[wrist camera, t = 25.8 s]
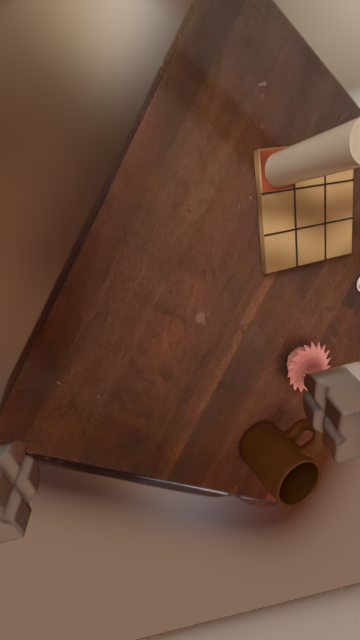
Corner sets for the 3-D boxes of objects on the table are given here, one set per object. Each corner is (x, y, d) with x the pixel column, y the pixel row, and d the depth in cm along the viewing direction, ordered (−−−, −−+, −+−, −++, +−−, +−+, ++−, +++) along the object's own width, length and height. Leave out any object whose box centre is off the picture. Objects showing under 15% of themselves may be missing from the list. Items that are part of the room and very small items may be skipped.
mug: (268, 390, 46) (313, 424, 38) (299, 405, 50) (347, 439, 41) (230, 455, 47) (266, 503, 38) (263, 466, 50) (303, 512, 42)
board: (253, 151, 36) (258, 148, 35) (347, 141, 40) (355, 138, 39) (262, 273, 41) (267, 274, 40) (346, 252, 45) (352, 253, 44)
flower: (289, 391, 48) (315, 408, 43) (262, 362, 45) (287, 377, 40) (321, 354, 48) (350, 368, 43) (297, 323, 45) (326, 334, 40)
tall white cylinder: (263, 153, 35) (350, 115, 24) (290, 150, 36) (385, 112, 26) (265, 189, 37) (349, 168, 26) (292, 185, 38) (383, 163, 27)
